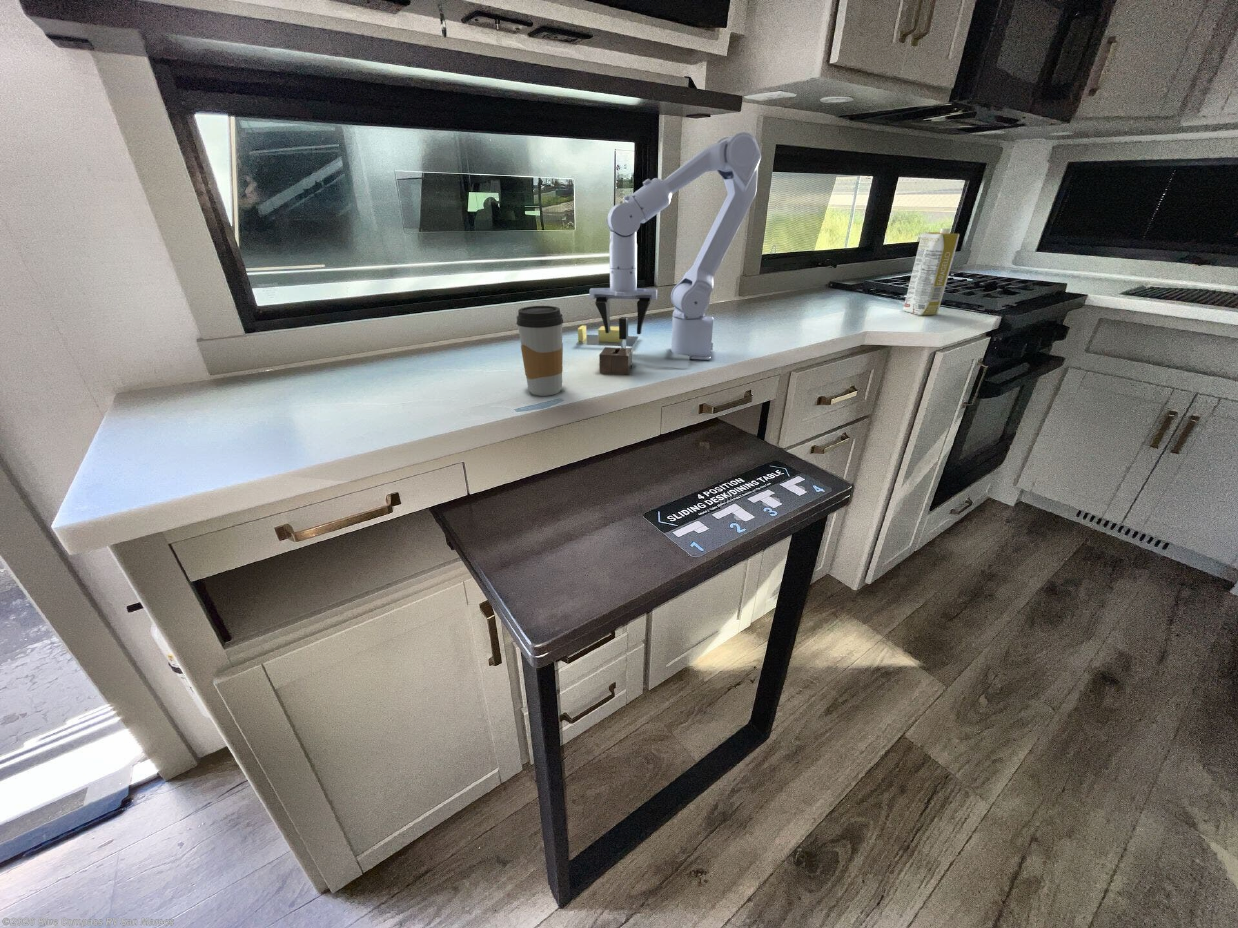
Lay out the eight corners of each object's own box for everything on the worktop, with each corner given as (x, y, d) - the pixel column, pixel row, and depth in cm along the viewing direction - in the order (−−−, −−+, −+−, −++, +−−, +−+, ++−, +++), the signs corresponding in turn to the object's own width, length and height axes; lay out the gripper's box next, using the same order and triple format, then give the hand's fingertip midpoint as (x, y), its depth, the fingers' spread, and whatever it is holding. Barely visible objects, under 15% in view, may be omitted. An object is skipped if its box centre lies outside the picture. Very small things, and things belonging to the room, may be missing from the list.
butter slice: (586, 337, 129) (586, 325, 127) (582, 341, 125) (582, 329, 124) (581, 337, 129) (581, 325, 128) (578, 341, 126) (577, 329, 124)
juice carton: (942, 315, 155) (966, 229, 144) (919, 316, 154) (942, 229, 142) (919, 309, 163) (941, 227, 152) (898, 310, 162) (918, 228, 150)
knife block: (632, 366, 110) (632, 348, 108) (628, 374, 104) (628, 355, 103) (605, 365, 111) (605, 347, 109) (599, 373, 105) (599, 354, 103)
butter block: (625, 338, 127) (625, 326, 126) (622, 342, 124) (622, 330, 123) (601, 338, 128) (601, 326, 127) (598, 341, 125) (598, 329, 123)
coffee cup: (576, 390, 96) (572, 309, 89) (539, 401, 91) (531, 316, 84) (551, 380, 101) (545, 303, 94) (514, 390, 97) (506, 309, 90)
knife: (628, 356, 117) (628, 316, 112) (625, 360, 114) (625, 319, 110) (622, 356, 117) (622, 316, 113) (618, 359, 114) (618, 319, 110)
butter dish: (638, 340, 130) (638, 336, 130) (632, 350, 121) (632, 346, 121) (585, 338, 132) (585, 334, 132) (575, 348, 123) (575, 344, 123)
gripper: (585, 269, 104) (587, 335, 110) (655, 270, 102) (653, 338, 108) (592, 265, 110) (594, 328, 116) (659, 266, 108) (657, 330, 114)
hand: (623, 332), depth 113 cm, fingers open, 6 cm apart
